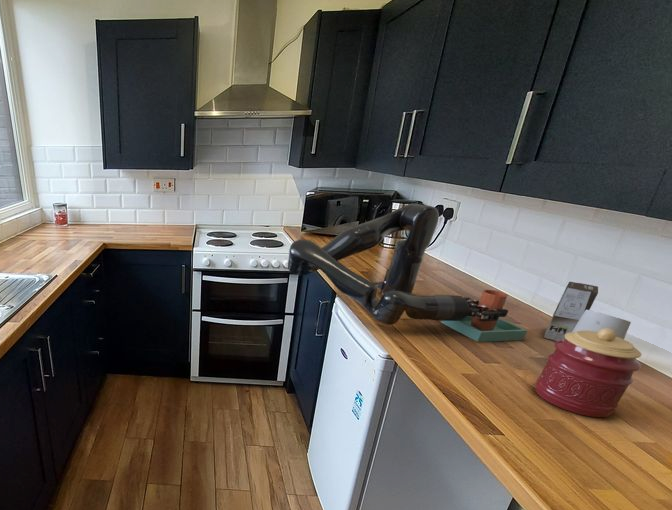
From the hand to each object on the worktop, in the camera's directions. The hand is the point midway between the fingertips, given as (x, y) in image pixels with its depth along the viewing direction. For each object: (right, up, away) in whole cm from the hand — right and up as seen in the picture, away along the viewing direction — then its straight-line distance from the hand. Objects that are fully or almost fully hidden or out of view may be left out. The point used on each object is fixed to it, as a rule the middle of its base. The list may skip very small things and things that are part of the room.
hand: (496, 308), depth 119 cm
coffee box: (+19, -9, +1) cm, 21 cm away
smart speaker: (+13, -14, -12) cm, 23 cm away
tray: (-3, -7, +3) cm, 8 cm away
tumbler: (-3, -5, +2) cm, 6 cm away
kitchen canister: (-9, -21, -30) cm, 38 cm away
